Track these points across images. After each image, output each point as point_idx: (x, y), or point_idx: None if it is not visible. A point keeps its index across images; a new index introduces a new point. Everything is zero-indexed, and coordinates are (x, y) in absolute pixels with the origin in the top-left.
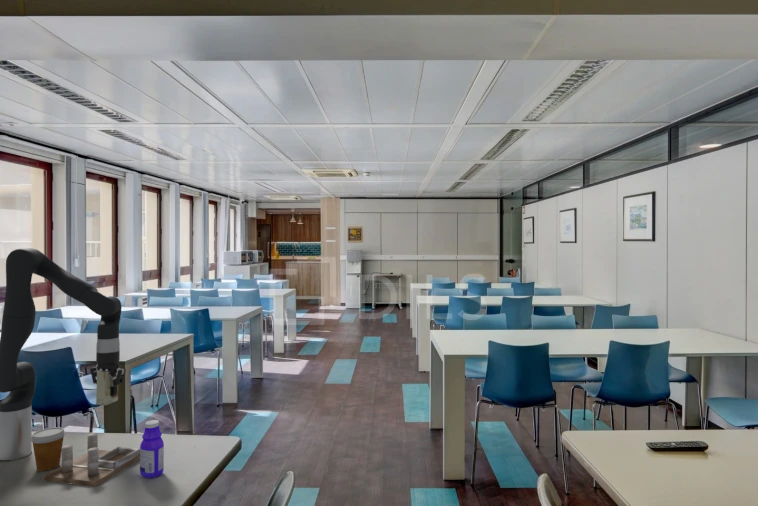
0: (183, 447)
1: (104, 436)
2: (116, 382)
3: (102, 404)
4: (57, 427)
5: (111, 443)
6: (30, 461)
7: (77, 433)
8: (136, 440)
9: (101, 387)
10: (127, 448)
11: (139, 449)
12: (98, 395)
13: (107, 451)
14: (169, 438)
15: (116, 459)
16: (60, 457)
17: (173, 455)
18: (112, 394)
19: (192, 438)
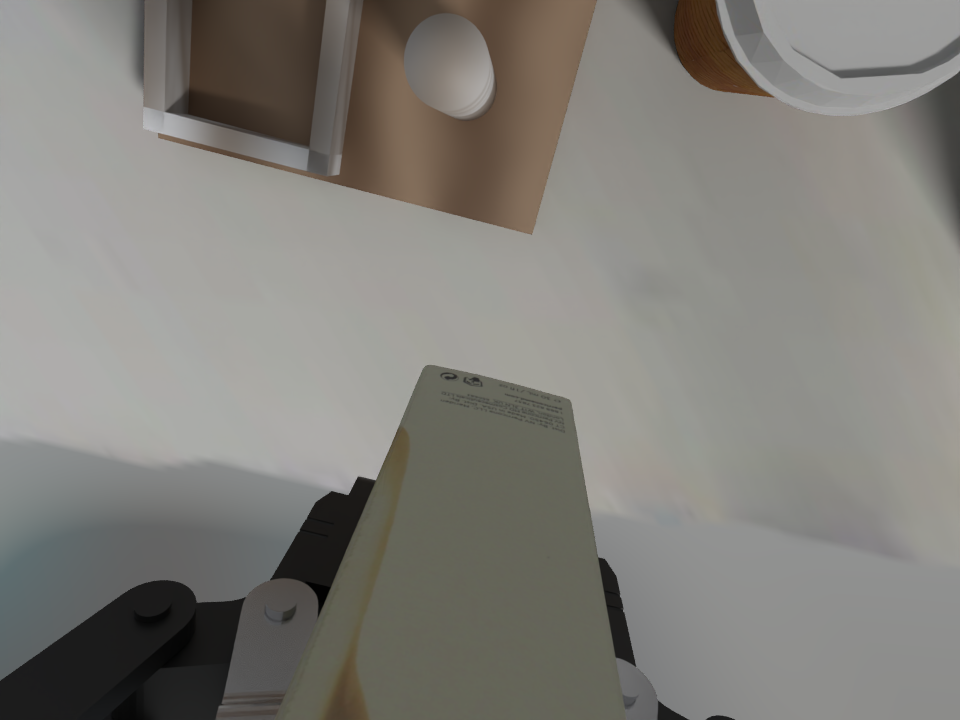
0: (29, 288)
1: (607, 476)
2: (125, 635)
3: (471, 375)
4: (857, 83)
5: (507, 375)
6: (916, 124)
7: (797, 530)
8: (377, 407)
9: (474, 539)
10: (239, 141)
11: (144, 122)
12: (539, 454)
13: (422, 193)
14: (198, 420)
15: (277, 49)
16: (686, 47)
17: (8, 173)
18: (351, 499)
19: (64, 410)
